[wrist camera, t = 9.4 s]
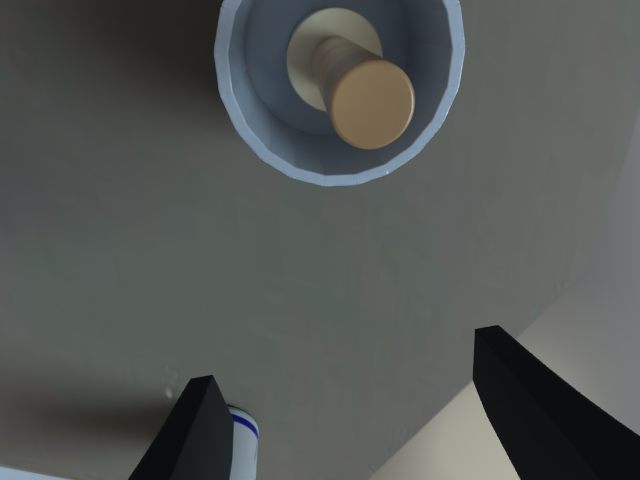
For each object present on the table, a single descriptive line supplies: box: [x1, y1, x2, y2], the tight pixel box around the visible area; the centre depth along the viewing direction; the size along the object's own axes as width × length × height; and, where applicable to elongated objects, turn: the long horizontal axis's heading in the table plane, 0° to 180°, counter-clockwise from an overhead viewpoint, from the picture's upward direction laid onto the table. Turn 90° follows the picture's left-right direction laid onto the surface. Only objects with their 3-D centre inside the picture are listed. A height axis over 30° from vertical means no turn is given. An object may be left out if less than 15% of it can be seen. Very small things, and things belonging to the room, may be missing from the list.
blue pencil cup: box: [214, 0, 465, 186], centre depth 14 cm, size 7×7×6 cm
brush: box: [287, 7, 415, 149], centre depth 11 cm, size 3×3×10 cm
